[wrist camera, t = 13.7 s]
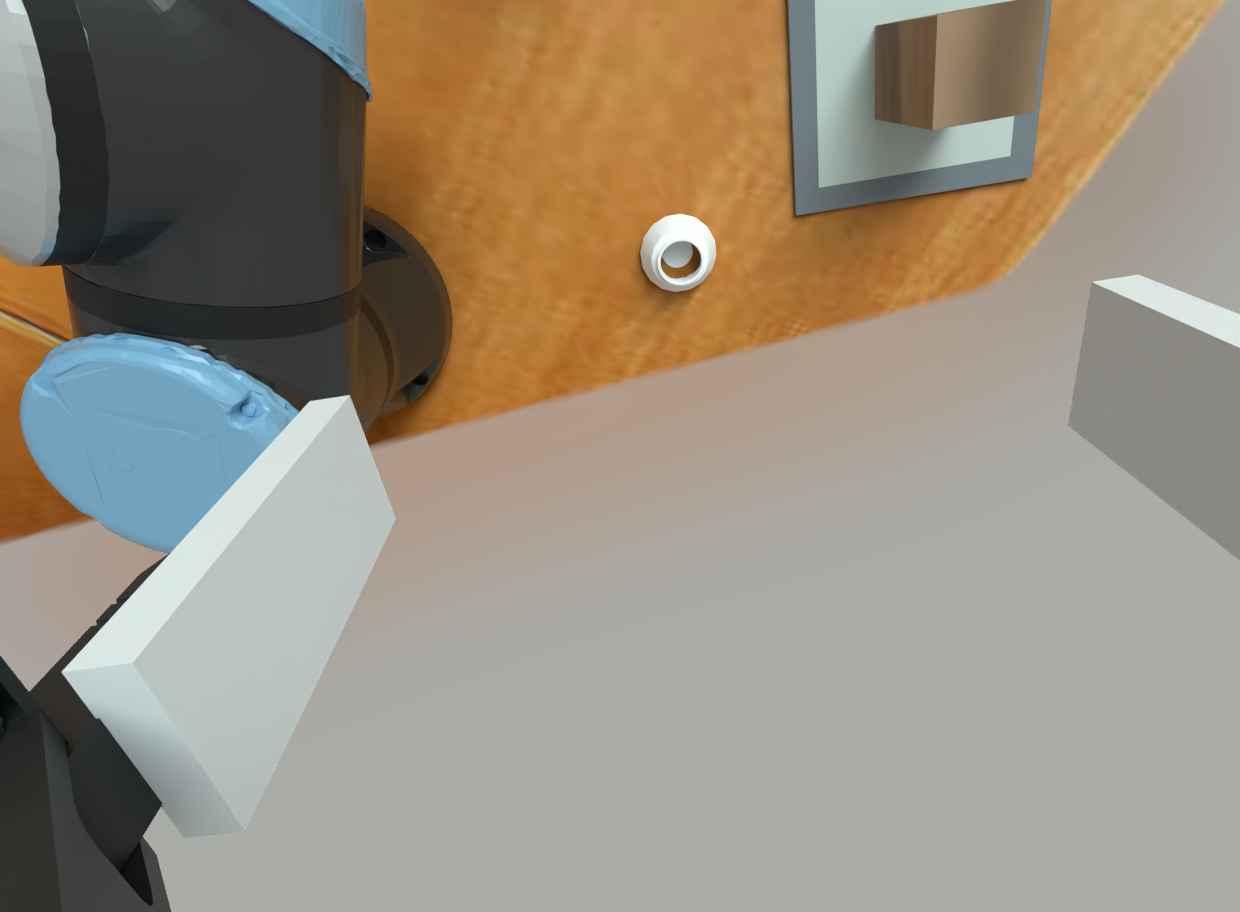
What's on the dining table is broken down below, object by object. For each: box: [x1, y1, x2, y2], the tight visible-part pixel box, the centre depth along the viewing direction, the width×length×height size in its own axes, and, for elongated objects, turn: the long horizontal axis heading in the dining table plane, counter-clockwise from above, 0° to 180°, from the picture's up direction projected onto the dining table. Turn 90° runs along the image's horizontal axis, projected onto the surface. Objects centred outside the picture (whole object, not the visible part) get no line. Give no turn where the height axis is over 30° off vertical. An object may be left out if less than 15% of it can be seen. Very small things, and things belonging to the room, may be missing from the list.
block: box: [875, 0, 1046, 130], centre depth 38 cm, size 5×5×9 cm
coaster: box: [787, 0, 1052, 216], centre depth 42 cm, size 15×15×1 cm
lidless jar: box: [640, 214, 716, 292], centre depth 47 cm, size 5×3×5 cm
